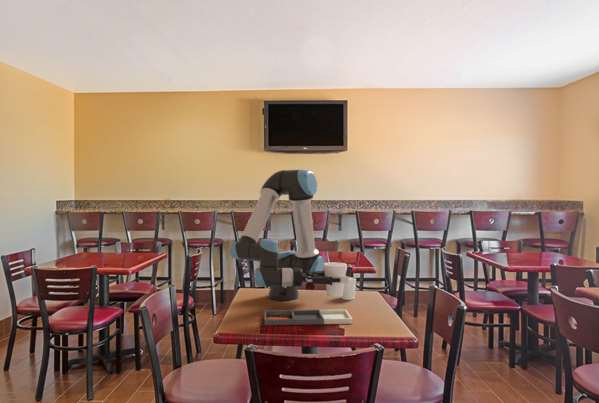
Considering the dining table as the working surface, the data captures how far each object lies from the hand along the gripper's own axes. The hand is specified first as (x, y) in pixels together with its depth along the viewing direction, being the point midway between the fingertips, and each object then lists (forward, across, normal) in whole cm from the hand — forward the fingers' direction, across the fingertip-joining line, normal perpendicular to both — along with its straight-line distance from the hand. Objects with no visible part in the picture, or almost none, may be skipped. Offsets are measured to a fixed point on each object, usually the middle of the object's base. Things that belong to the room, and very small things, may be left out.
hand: (345, 277), depth 167 cm
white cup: (+8, -33, -18) cm, 38 cm away
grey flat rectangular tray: (-16, 0, -18) cm, 24 cm away
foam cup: (-4, 0, -8) cm, 9 cm away
